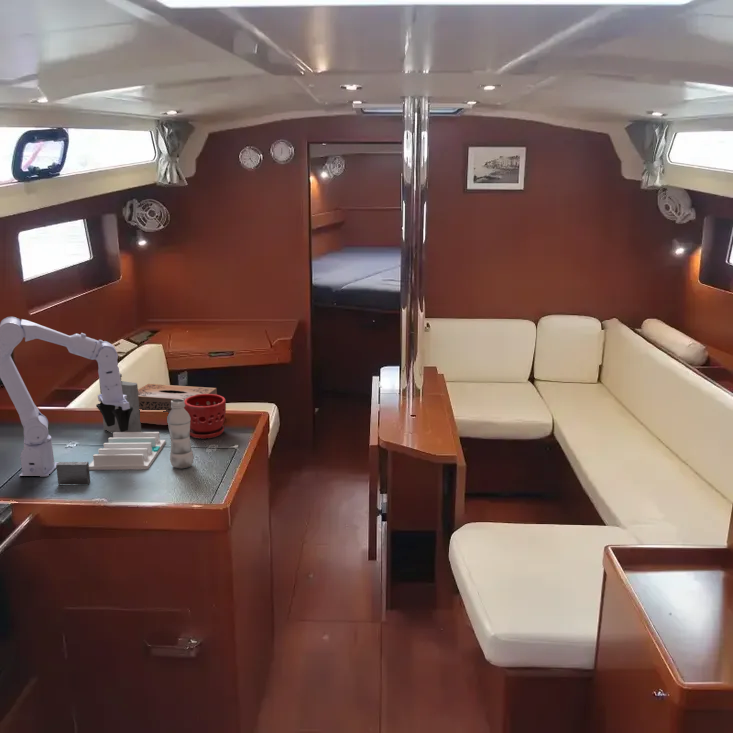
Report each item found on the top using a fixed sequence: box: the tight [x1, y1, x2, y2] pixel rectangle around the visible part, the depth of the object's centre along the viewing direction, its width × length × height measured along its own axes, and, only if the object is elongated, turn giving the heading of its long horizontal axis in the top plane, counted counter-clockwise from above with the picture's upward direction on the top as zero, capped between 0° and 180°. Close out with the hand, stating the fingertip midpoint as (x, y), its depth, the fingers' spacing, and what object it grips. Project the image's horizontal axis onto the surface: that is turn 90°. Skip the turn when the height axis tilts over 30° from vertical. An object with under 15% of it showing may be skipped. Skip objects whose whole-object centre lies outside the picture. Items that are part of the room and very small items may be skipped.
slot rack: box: [89, 431, 166, 471], centre depth 222 cm, size 21×17×4 cm
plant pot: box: [184, 394, 227, 440], centre depth 239 cm, size 13×13×12 cm
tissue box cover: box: [138, 383, 218, 413], centre depth 255 cm, size 26×14×10 cm, turn 78°
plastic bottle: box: [167, 399, 195, 469], centre depth 212 cm, size 6×7×20 cm
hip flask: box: [98, 373, 142, 434], centre depth 239 cm, size 16×4×20 cm, turn 60°
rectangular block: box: [55, 461, 91, 485], centre depth 203 cm, size 2×8×6 cm, turn 91°
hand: (117, 428), depth 218 cm, fingers open, 7 cm apart
